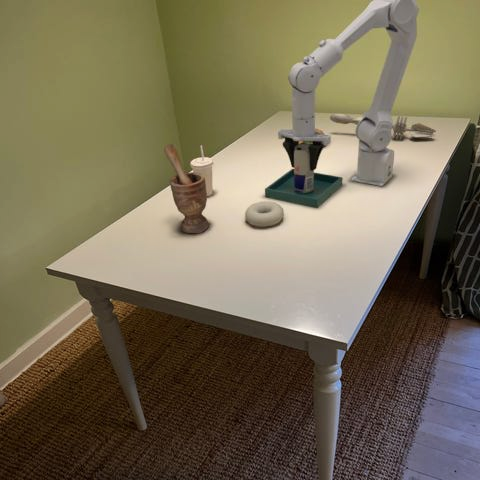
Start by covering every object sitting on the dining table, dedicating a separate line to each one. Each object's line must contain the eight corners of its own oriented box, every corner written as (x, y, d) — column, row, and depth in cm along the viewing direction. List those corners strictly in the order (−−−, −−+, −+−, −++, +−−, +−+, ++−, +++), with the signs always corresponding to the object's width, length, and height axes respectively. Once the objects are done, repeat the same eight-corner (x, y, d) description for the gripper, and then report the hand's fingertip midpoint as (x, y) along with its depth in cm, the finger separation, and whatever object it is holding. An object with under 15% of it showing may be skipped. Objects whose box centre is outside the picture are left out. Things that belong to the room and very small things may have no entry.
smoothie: (214, 198, 136) (207, 150, 128) (192, 198, 138) (184, 150, 129) (219, 189, 141) (213, 141, 132) (198, 189, 143) (191, 141, 134)
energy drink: (293, 187, 137) (292, 145, 129) (311, 184, 137) (311, 142, 129) (296, 195, 133) (295, 152, 125) (315, 192, 133) (315, 149, 125)
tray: (342, 185, 136) (342, 177, 134) (316, 208, 127) (317, 199, 125) (292, 176, 144) (292, 168, 142) (265, 196, 135) (264, 188, 133)
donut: (238, 218, 126) (257, 233, 119) (237, 206, 124) (256, 220, 117) (271, 207, 129) (291, 221, 122) (270, 195, 127) (291, 208, 120)
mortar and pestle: (163, 228, 126) (146, 153, 113) (183, 214, 131) (170, 140, 118) (198, 237, 120) (185, 159, 107) (217, 222, 125) (207, 146, 113)
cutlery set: (334, 105, 167) (330, 103, 160) (439, 121, 156) (438, 119, 149) (329, 130, 170) (324, 128, 163) (431, 146, 159) (431, 145, 152)
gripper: (271, 117, 123) (273, 169, 132) (321, 124, 116) (320, 177, 125) (285, 109, 128) (286, 159, 136) (335, 115, 121) (333, 167, 129)
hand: (303, 167), depth 131 cm, fingers closed on energy drink, 5 cm apart
